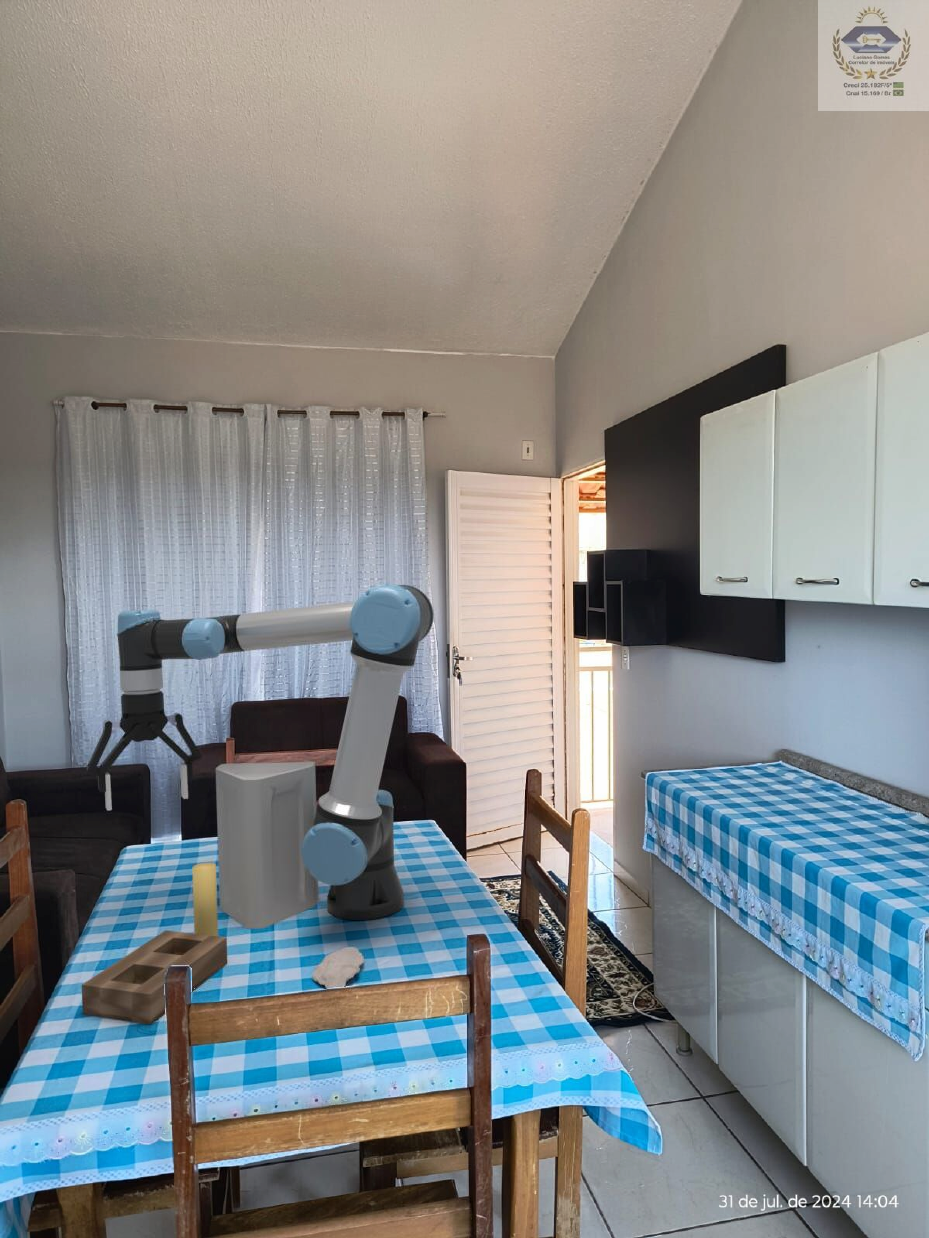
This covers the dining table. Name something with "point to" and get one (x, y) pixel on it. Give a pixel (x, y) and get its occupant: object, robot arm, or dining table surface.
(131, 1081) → the dining table surface
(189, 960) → the socket board
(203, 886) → the dowel
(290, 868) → the grey triangular prism
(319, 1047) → the dining table surface
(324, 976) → the stone tool
